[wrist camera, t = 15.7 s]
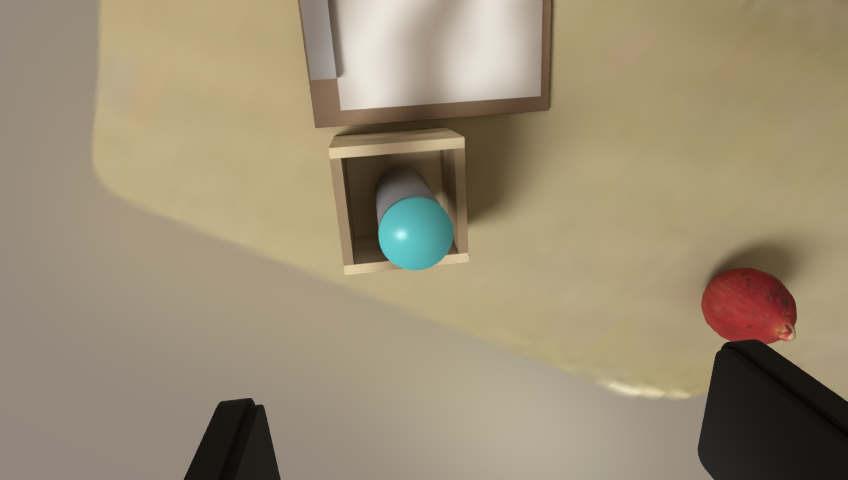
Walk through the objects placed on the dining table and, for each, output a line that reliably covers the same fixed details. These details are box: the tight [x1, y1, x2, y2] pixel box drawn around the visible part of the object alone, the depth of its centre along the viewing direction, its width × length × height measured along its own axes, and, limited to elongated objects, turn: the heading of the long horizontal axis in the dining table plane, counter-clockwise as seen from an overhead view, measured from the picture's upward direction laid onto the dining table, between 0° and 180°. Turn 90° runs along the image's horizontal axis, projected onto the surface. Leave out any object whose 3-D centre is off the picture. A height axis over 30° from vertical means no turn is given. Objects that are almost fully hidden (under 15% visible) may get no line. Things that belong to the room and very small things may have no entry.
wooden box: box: [329, 127, 468, 275], centre depth 30 cm, size 8×8×6 cm
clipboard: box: [298, 0, 551, 128], centre depth 29 cm, size 16×12×1 cm
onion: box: [701, 268, 797, 344], centre depth 36 cm, size 6×6×8 cm
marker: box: [375, 167, 453, 270], centre depth 28 cm, size 4×4×10 cm
